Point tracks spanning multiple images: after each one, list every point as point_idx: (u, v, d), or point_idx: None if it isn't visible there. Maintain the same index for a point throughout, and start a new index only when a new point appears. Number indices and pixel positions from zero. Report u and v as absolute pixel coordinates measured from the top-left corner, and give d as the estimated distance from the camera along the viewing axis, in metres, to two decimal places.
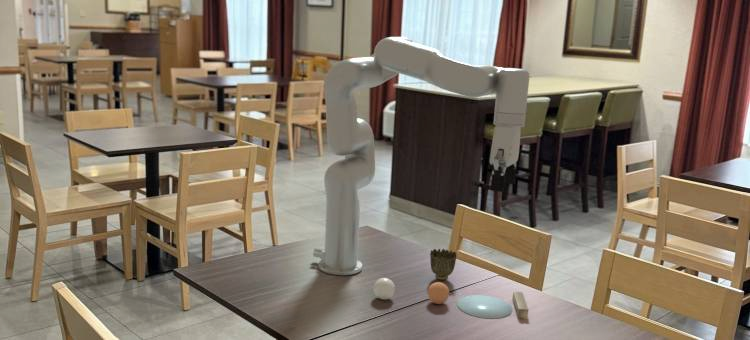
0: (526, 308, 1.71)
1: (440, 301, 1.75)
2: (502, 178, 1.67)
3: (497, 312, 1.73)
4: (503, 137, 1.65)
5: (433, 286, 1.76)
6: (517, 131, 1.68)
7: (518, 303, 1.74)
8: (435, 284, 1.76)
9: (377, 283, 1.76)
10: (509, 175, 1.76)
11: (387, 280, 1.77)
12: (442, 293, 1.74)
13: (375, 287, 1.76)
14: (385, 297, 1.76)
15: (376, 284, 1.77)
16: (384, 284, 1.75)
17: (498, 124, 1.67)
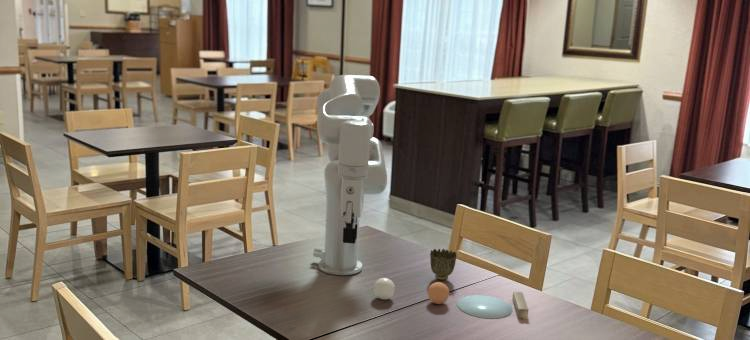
0: (526, 308, 1.71)
1: (440, 301, 1.75)
2: None
3: (497, 312, 1.73)
4: None
5: (433, 286, 1.76)
6: None
7: (518, 303, 1.74)
8: (435, 284, 1.76)
9: (377, 283, 1.76)
10: None
11: (387, 280, 1.77)
12: (442, 293, 1.74)
13: (375, 287, 1.76)
14: (385, 297, 1.76)
15: (376, 284, 1.77)
16: (384, 284, 1.75)
17: None
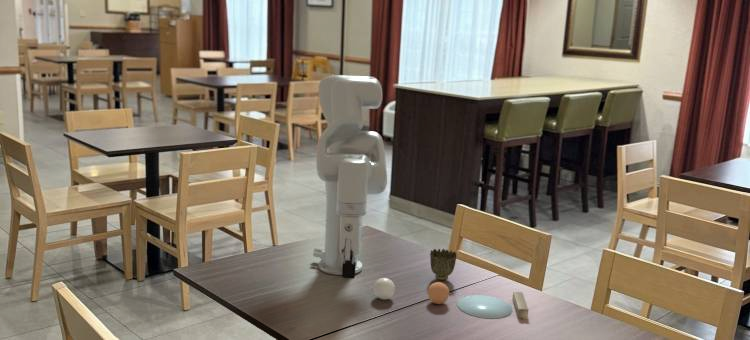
0: (526, 308, 1.71)
1: (440, 301, 1.75)
2: None
3: (497, 312, 1.73)
4: None
5: (433, 286, 1.76)
6: None
7: (518, 303, 1.74)
8: (435, 284, 1.76)
9: (377, 283, 1.76)
10: None
11: (387, 280, 1.77)
12: (442, 293, 1.74)
13: (375, 287, 1.76)
14: (385, 297, 1.76)
15: (376, 284, 1.77)
16: (384, 284, 1.75)
17: None
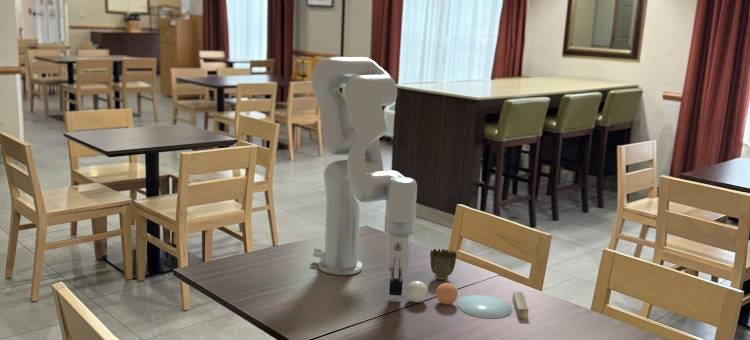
0: (526, 308, 1.71)
1: (444, 301, 1.75)
2: None
3: (497, 312, 1.73)
4: None
5: (449, 286, 1.75)
6: None
7: (518, 303, 1.74)
8: (451, 285, 1.76)
9: None
10: None
11: None
12: (452, 297, 1.74)
13: (425, 295, 1.75)
14: (413, 290, 1.75)
15: (425, 297, 1.76)
16: (417, 301, 1.76)
17: None
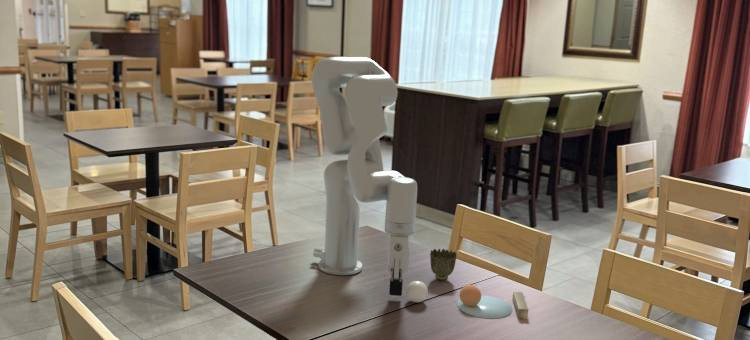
0: (526, 308, 1.71)
1: (468, 294, 1.74)
2: None
3: (497, 312, 1.73)
4: None
5: None
6: None
7: (518, 303, 1.74)
8: None
9: None
10: None
11: None
12: (468, 303, 1.74)
13: (425, 295, 1.75)
14: (413, 290, 1.75)
15: (425, 297, 1.76)
16: (417, 301, 1.76)
17: None
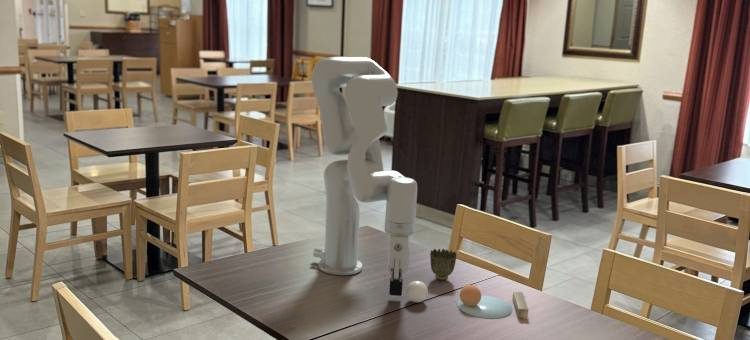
0: (526, 308, 1.71)
1: (468, 294, 1.74)
2: None
3: (497, 312, 1.73)
4: None
5: None
6: None
7: (518, 303, 1.74)
8: None
9: None
10: None
11: None
12: (468, 303, 1.74)
13: (425, 295, 1.75)
14: (413, 290, 1.75)
15: (425, 297, 1.76)
16: (417, 301, 1.76)
17: None
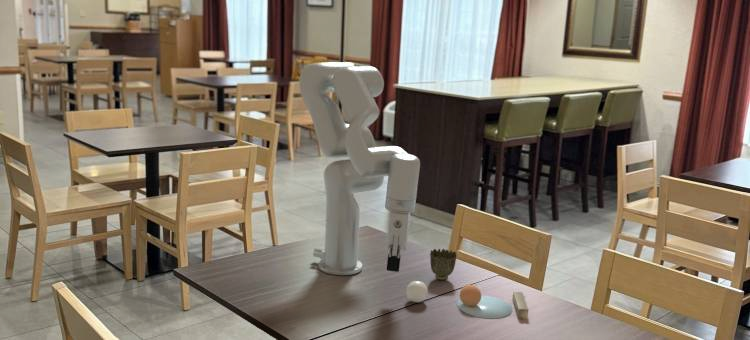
0: (526, 308, 1.71)
1: (468, 294, 1.74)
2: None
3: (497, 312, 1.73)
4: None
5: None
6: None
7: (518, 303, 1.74)
8: None
9: None
10: None
11: None
12: (468, 303, 1.74)
13: (425, 295, 1.75)
14: (413, 290, 1.75)
15: (425, 297, 1.76)
16: (417, 301, 1.76)
17: None
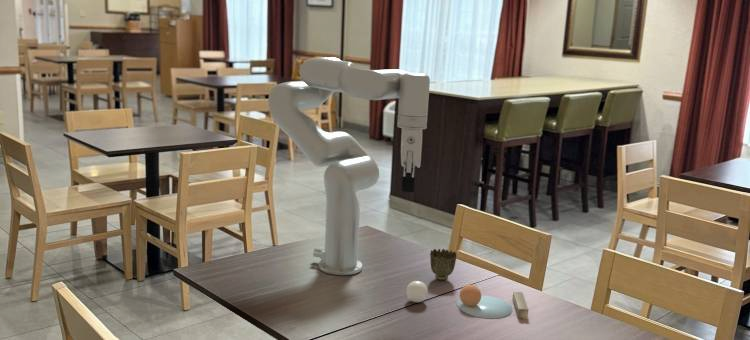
0: (526, 308, 1.71)
1: (468, 294, 1.74)
2: None
3: (497, 312, 1.73)
4: None
5: None
6: None
7: (518, 303, 1.74)
8: None
9: None
10: None
11: None
12: (468, 303, 1.74)
13: (425, 295, 1.75)
14: (413, 290, 1.75)
15: (425, 297, 1.76)
16: (417, 301, 1.76)
17: None
